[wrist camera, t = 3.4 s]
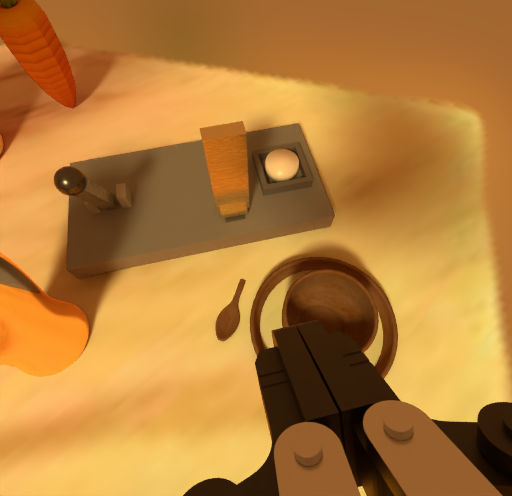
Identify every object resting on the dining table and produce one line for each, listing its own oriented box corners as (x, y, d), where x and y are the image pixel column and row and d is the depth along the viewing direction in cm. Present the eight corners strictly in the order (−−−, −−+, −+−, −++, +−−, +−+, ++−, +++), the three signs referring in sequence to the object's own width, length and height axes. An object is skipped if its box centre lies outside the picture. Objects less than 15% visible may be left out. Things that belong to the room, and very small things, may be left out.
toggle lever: (101, 215, 30) (50, 194, 22) (97, 194, 31) (45, 165, 22) (123, 211, 31) (81, 189, 22) (119, 190, 31) (76, 159, 22)
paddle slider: (218, 219, 30) (203, 147, 22) (214, 198, 31) (198, 122, 23) (250, 212, 30) (248, 140, 22) (245, 192, 31) (240, 115, 23)
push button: (269, 185, 31) (269, 177, 30) (261, 160, 33) (261, 152, 32) (301, 179, 32) (303, 171, 31) (292, 154, 33) (293, 146, 32)
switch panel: (78, 278, 30) (56, 261, 27) (79, 175, 35) (61, 151, 32) (330, 226, 32) (338, 205, 29) (296, 137, 37) (299, 111, 34)
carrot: (73, 127, 38) (-28, -27, 25) (42, 112, 39) (-70, -42, 26) (101, 101, 40) (23, -54, 27) (71, 88, 41) (-18, -68, 28)
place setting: (432, 294, 30) (470, 269, 24) (409, 580, 21) (460, 636, 16) (247, 243, 32) (245, 209, 27) (159, 480, 23) (130, 499, 18)
